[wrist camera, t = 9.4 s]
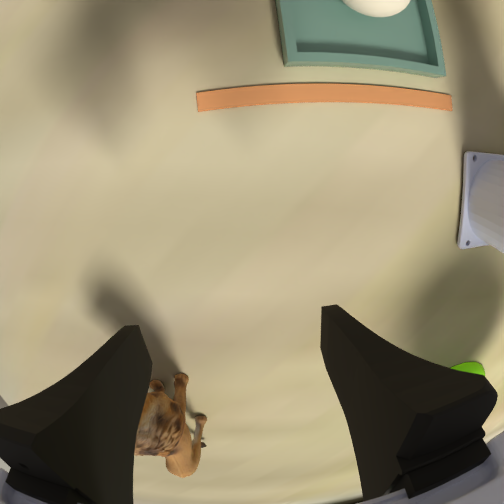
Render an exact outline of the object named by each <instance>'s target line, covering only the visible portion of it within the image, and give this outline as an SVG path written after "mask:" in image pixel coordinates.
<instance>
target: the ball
mask: <svg viewBox="0 0 504 504" xmlns="http://www.w3.org/2000/svg"><path fill="white" fill-rule="evenodd" d="M342 1H343V2H344V3H345V4H346V5H347V6H348V7H350V8H351V9H353V10H355V11H357V12H359V13H361V14H364V15H367V16H372V17H388V16H392V15H395V14H397V13H399V12H401V11H402V10H404V9H405V8H406V7H407V5H408V4H409V2H410V1H411V0H342Z"/></svg>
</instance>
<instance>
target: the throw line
mask: <svg viewBox="0 0 504 504" xmlns="http://www.w3.org/2000/svg"><path fill="white" fill-rule="evenodd" d="M196 95H197V104H198V112H201V111H208V110H215V109H223V108H231V107H241V106H251V105H263V104H278V103H299V102H361V103H382V104H396V105H407V106H417V107H426V108H434V109H441V110H448V111H452V100H451V96H450V95H445V94H439V93H433V92H426V91H420V90H412V89H404V88H395V87H384V86H372V85H355V84H281V85H264V86H251V87H240V88H230V89H222V90H214V91H207V92H200V93H196Z"/></svg>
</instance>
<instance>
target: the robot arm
mask: <svg viewBox="0 0 504 504" xmlns="http://www.w3.org/2000/svg"><path fill="white" fill-rule="evenodd" d="M473 156H474V160H473ZM466 242H467V243H466ZM457 245H458V247H459V248H460V249H467V248H473V247H479V246H485V245H491V246H492V247H494V248H496V249H497V250H499V251H500V252H502V253H504V155H501V154H492V153H483V152H472V151H467V152H465V154H464V173H463V194H462V207H461V217H460V227H459V235H458V242H457ZM320 348H321V351H322V355H323V359H324V363H325V367H326V370H327V372H328V375H329V377H330V379H331V382H332V384H333V387H334V389H335V392H336V394H337V396H338V399H339V401H340V404H341V406H342V409H343V411H344V414H345V417H346V420H347V423H348V427H349V431H350V435H351V439H352V443H353V447H354V451H355V456H356V460H357V465H358V470H359V475H360V481H361V487H362V493H363V500H364V502H361V503H357V504H504V431H503V432H502V433H500V434H499V435H497V436H495V437H494V438H493V439H491V440H490V441H489V442H488V443H487V444H485V442H484V440H483V439H482V438H483V437H484V436H485V431H484V430H483V428H482V425H483V424H484V422H485V421H486V419H487V418H488V416H489V415H490V413H491V412H492V410H493V408H494V406H495V404H496V401H497V397H498V395H497V392H496V390H495V389H494V388H493V386H492V385H491V384H490V383H489V381H488V380H487V379H486V377H485V376H484V375H481V374H475V373H469V372H464V371H459V370H455V369H451V368H448V367H444V366H441V365H438V364H435V363H432V362H429V361H427V360H424V359H422V358H419V357H417V356H414V355H412V354H410V353H408V352H406V351H404V350H402V349H400V348H398V347H396V346H395V345H393V344H391V343H389V342H388V341H386V340H385V339H383V338H381V337H380V336H378V335H377V334H375V333H374V332H372V331H371V330H370V329H368V328H367V327H365V326H364V325H363V324H361V323H360V322H359V321H357V320H356V319H355V318H353V317H352V316H351V315H350V314H348V313H347V312H346V311H345V310H343V309H342V308H341V307H339V306H338V305H330V306H324V307H322V314H321V346H320ZM151 371H152V361H151V358H150V356H149V353H148V350H147V348H146V345H145V342H144V340H143V337H142V334H141V331H140V328H139V325H132V326H124V327H123V328H122V329H120V330H119V331H118V332H117V333H116V334H115V335H114V336H112V337H111V338H110V339H109V340H108V341H107V342H106V343H105V344H104V345H103V346H102V347H100V348H99V349H98V350H97V351H96V352H95V353H94V354H93V355H92V356H91V357H89V358H88V359H87V360H86V361H85V362H83V363H82V364H81V365H80V366H79V367H78V368H76V369H75V370H74V371H73V372H71V373H70V374H68V375H67V376H66V377H64V378H63V379H61V380H60V381H58V382H57V383H55V384H54V385H52V386H50V387H49V388H47V389H45V390H43V391H42V392H40V393H38V394H36V395H34V396H32V397H30V398H28V399H26V400H23V401H21V402H19V403H16V404H13V405H10V406H7V407H4V408H1V409H0V458H1V459H2V460H3V461H5V462H6V463H7V464H8V465H9V466H10V467H11V469H10V471H9V473H8V472H7V471H5V470H4V469H2V468H0V504H133V465H134V452H135V443H136V435H137V430H138V426H139V422H140V418H141V414H142V411H143V407H144V403H145V400H146V396H147V392H148V389H149V385H150V378H151Z"/></svg>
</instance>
